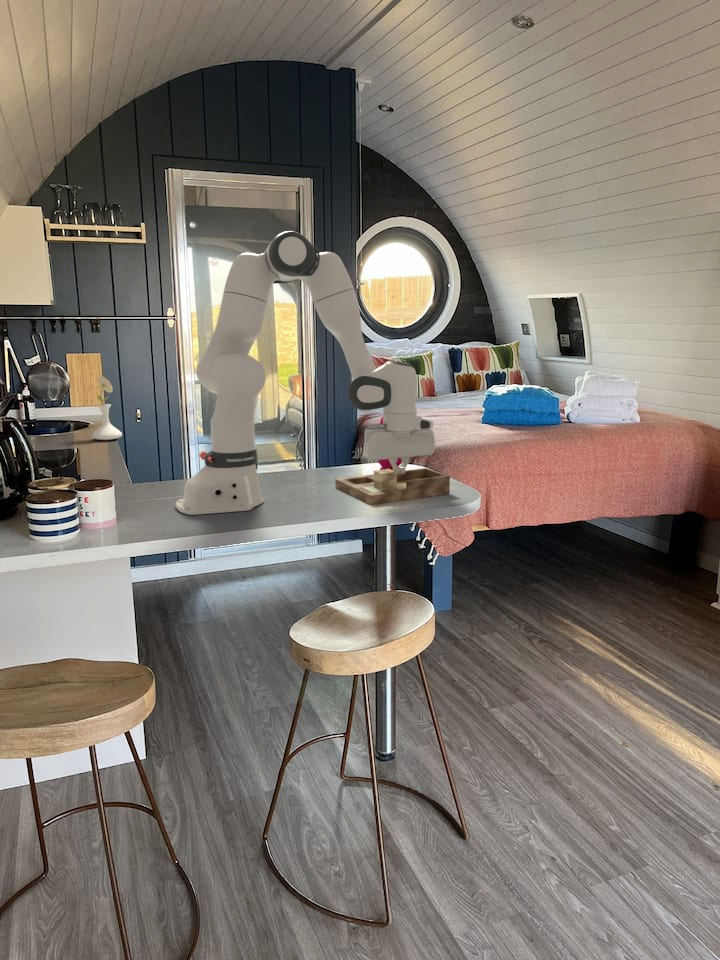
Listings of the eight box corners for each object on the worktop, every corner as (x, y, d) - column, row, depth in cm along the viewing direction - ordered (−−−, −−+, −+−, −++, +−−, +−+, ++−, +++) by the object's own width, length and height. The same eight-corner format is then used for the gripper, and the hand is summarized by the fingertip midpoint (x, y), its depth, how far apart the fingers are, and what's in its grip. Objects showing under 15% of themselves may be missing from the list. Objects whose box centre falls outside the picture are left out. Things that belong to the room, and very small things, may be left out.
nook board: (371, 504, 192) (370, 486, 191) (335, 487, 211) (335, 470, 210) (449, 493, 202) (449, 476, 201) (408, 478, 222) (408, 461, 221)
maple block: (382, 490, 197) (381, 473, 196) (373, 487, 201) (373, 470, 200) (396, 488, 199) (396, 471, 198) (388, 485, 203) (388, 468, 202)
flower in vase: (125, 440, 294) (120, 376, 289) (95, 443, 289) (89, 378, 283) (118, 435, 305) (112, 374, 300) (89, 438, 300) (83, 375, 294)
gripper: (369, 426, 191) (369, 479, 194) (438, 422, 199) (437, 472, 202) (359, 423, 196) (359, 475, 199) (426, 419, 205) (425, 468, 208)
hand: (399, 473), depth 201 cm, fingers closed
